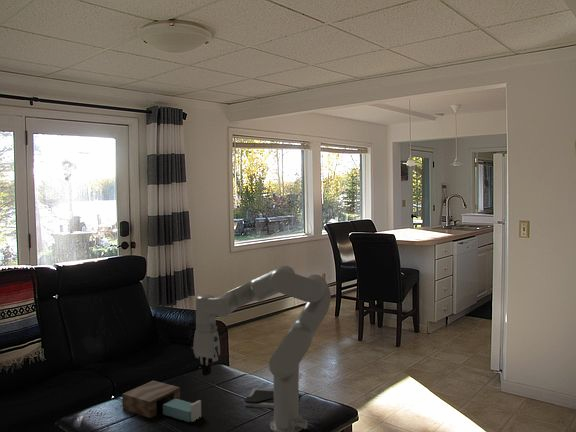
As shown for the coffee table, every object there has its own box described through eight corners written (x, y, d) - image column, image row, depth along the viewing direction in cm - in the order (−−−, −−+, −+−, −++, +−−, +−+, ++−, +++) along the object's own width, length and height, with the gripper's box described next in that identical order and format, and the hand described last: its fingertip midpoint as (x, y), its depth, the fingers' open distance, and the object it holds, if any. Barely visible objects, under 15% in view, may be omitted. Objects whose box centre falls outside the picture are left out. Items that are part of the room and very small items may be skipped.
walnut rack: (180, 402, 209) (179, 387, 208) (150, 418, 194) (149, 401, 194) (153, 394, 217) (153, 380, 217) (122, 409, 202) (122, 393, 202)
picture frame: (244, 407, 204) (293, 411, 200) (244, 401, 204) (293, 404, 200) (253, 392, 219) (299, 395, 216) (253, 386, 219) (298, 389, 216)
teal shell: (202, 415, 196) (202, 399, 195) (190, 422, 190) (190, 406, 189) (175, 407, 203) (175, 392, 203) (162, 414, 197) (162, 398, 197)
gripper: (227, 327, 188) (227, 374, 188) (197, 322, 195) (198, 368, 196) (214, 332, 181) (215, 381, 182) (184, 327, 189) (185, 373, 190)
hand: (206, 374), depth 189 cm, fingers closed
